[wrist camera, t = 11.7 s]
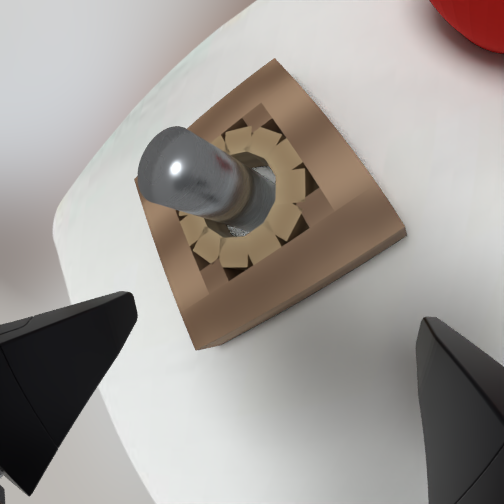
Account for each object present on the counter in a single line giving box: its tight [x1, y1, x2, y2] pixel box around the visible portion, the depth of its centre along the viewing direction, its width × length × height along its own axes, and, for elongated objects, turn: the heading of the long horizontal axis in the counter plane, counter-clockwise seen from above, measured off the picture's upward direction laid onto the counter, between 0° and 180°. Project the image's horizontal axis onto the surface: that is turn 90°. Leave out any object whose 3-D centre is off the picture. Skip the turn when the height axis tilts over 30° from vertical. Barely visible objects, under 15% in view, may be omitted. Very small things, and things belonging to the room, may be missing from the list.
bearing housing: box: [134, 58, 407, 350], centre depth 23 cm, size 16×16×3 cm
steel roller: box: [138, 126, 276, 232], centre depth 20 cm, size 4×4×10 cm
